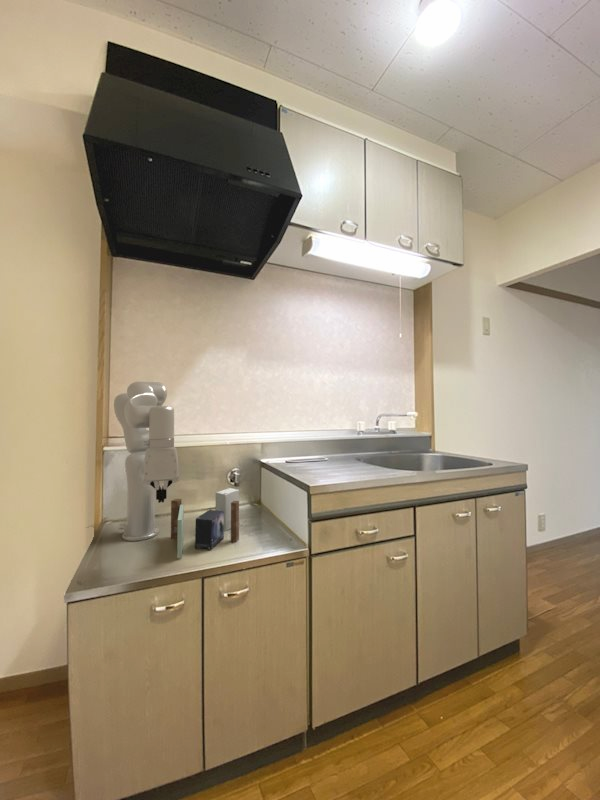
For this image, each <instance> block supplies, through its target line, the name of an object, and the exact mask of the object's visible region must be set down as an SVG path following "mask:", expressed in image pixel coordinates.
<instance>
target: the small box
mask: <svg viewBox="0 0 600 800" xmlns="http://www.w3.org/2000/svg"><path fill="white" fill-rule="evenodd" d="M194 529H195V531H194V533H195V535H194V536H195V537H194V549H195V550H203V549H205V550H206V551H211V550H213V549H214V548H215V547H216V546H218V545H219V544H220V543H221V542H222V541H223V540H224V538H225V535H224V534H225V533H224V532H225V531H224V511H216V509H215V510H214V509H209V510H207V511H205V512H204V513H203V514H200V515H198V516H197V517H196V518H195V528H194Z"/></svg>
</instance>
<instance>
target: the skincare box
mask: <svg viewBox="0 0 600 800" xmlns="http://www.w3.org/2000/svg"><path fill="white" fill-rule="evenodd" d="M233 501H239V502H240V489H236V488H232V487H228V488H225V489H223V490H219V491H216V492H215V510H216V511H224V532H226V531H229V530H231V503H232V502H233Z"/></svg>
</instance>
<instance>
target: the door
mask: <svg viewBox="0 0 600 800" xmlns="http://www.w3.org/2000/svg"><path fill="white" fill-rule="evenodd" d="M184 505H185V504H184V503H181V504H180V509H179V515H178V527H174V533H177V532H178V539H177V559H181V558H182V554H183V545H184V533H185V532H184V528H185V527H184V526H185V525H184V519H185V517H184V516H185V515H184V514H185V513H184V512H185V510H184V507H185V506H184Z"/></svg>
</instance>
